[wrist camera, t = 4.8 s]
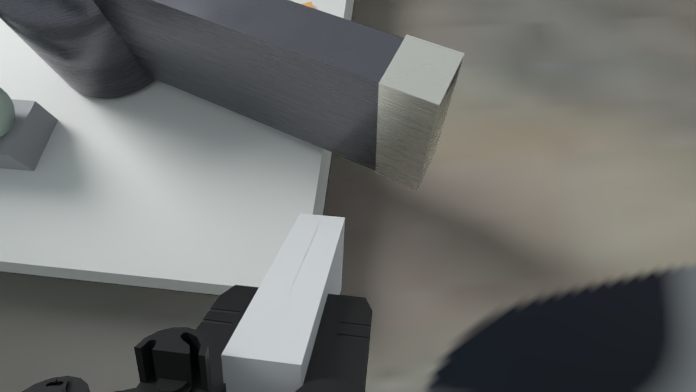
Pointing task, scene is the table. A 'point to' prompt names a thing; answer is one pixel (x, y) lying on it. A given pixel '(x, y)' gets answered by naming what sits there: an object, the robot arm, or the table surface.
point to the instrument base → (145, 181)
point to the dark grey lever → (259, 69)
